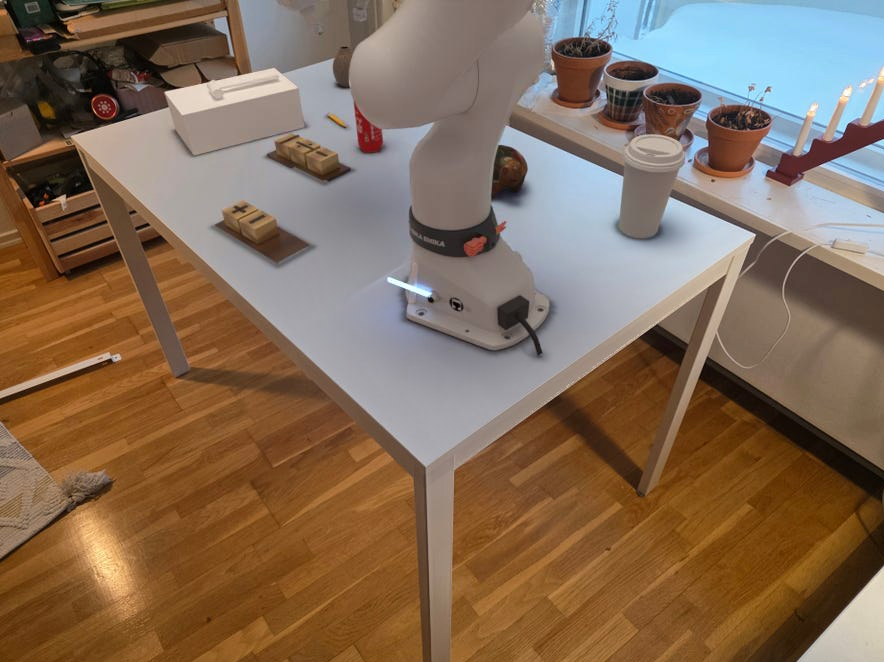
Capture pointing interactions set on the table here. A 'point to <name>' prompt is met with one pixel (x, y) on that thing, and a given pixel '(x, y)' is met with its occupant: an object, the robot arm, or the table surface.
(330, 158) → the strip
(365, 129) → the beverage can
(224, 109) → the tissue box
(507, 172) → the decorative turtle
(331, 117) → the pencil
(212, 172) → the table surface
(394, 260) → the table surface
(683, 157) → the coffee cup
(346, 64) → the vase
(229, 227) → the strip
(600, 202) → the table surface
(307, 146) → the wooden block
